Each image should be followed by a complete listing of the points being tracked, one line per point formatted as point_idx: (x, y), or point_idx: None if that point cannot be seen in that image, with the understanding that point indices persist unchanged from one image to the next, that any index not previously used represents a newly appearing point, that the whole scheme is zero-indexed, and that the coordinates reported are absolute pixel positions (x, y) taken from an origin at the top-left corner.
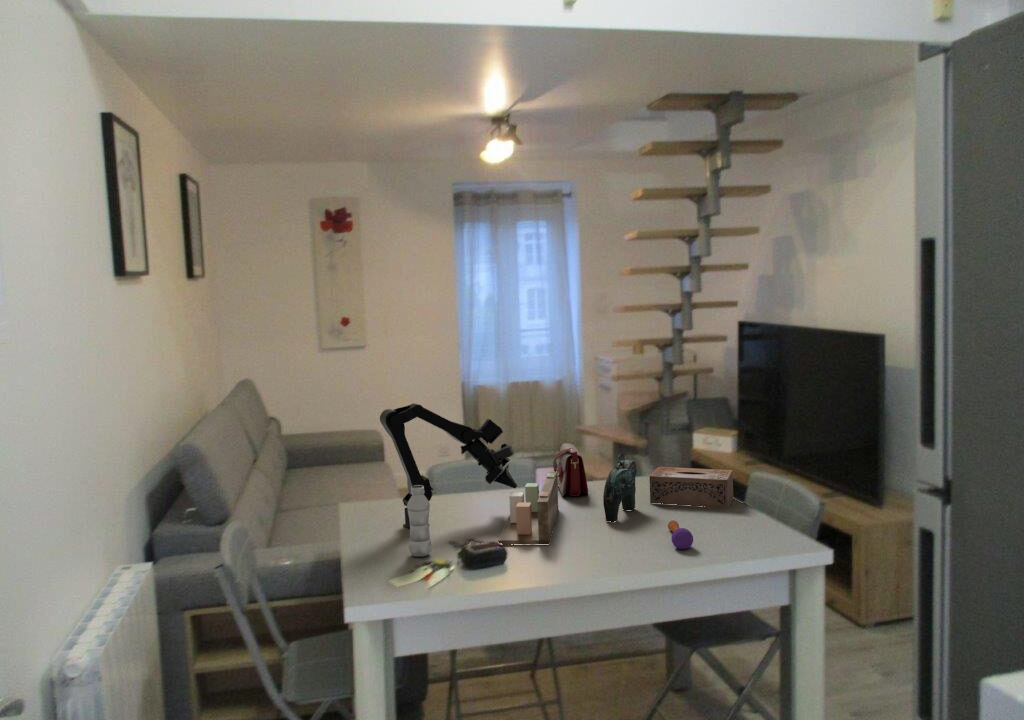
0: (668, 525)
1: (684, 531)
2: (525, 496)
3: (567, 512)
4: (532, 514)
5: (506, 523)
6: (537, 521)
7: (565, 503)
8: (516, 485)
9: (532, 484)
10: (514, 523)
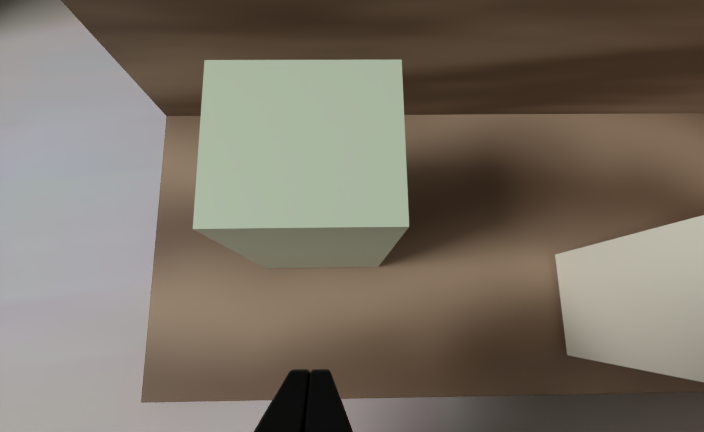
0: None
1: None
2: (392, 247)
3: None
4: (417, 213)
5: (675, 387)
6: (590, 159)
7: (31, 41)
8: (329, 378)
9: (275, 133)
10: None
